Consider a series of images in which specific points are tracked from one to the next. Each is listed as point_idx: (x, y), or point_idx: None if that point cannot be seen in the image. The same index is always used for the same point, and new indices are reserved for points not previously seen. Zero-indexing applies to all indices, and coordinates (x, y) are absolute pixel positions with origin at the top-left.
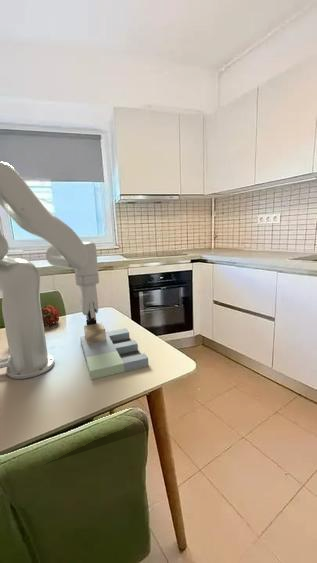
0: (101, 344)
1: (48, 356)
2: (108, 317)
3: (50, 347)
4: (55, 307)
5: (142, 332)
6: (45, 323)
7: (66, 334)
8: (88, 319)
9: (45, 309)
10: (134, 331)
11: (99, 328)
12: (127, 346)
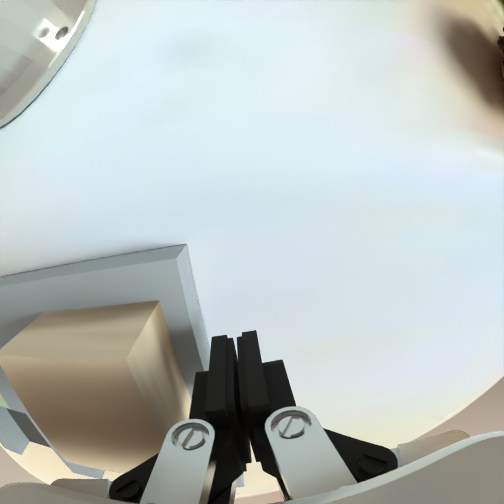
0: None
1: (23, 81)
2: (485, 362)
3: (195, 38)
4: None
5: (246, 491)
6: (499, 47)
7: (394, 132)
8: (165, 450)
9: None
10: (269, 477)
11: (66, 443)
12: (52, 446)
